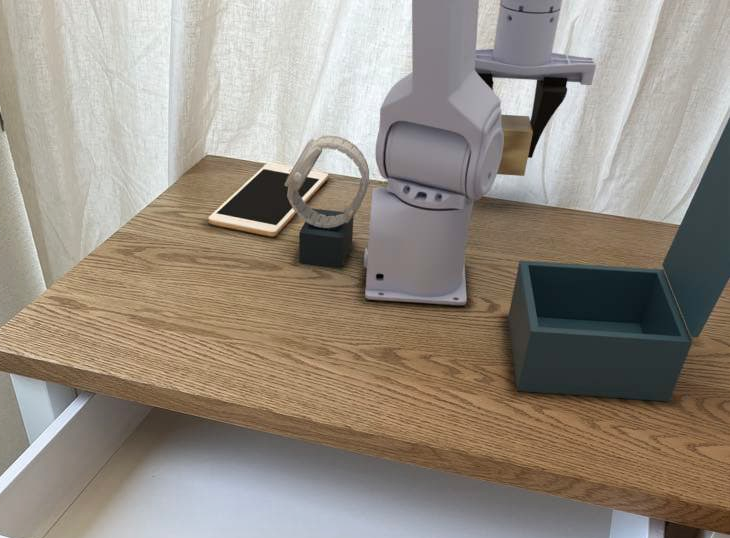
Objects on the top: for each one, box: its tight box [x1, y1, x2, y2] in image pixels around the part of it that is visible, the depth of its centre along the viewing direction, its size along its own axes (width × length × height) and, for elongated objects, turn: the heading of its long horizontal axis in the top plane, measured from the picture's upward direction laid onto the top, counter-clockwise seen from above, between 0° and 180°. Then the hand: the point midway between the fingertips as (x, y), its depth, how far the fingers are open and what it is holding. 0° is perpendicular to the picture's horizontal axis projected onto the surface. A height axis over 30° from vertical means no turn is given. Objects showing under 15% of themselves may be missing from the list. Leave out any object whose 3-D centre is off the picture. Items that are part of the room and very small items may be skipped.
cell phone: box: [207, 162, 329, 237], centre depth 92 cm, size 8×16×1 cm, turn 159°
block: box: [497, 114, 533, 177], centre depth 88 cm, size 4×4×4 cm
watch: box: [285, 135, 371, 269], centre depth 80 cm, size 6×8×11 cm
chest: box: [507, 260, 693, 402], centre depth 70 cm, size 12×11×6 cm
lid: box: [661, 116, 730, 339], centre depth 63 cm, size 13×11×1 cm
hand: (504, 152), depth 88 cm, fingers closed on block, 4 cm apart
